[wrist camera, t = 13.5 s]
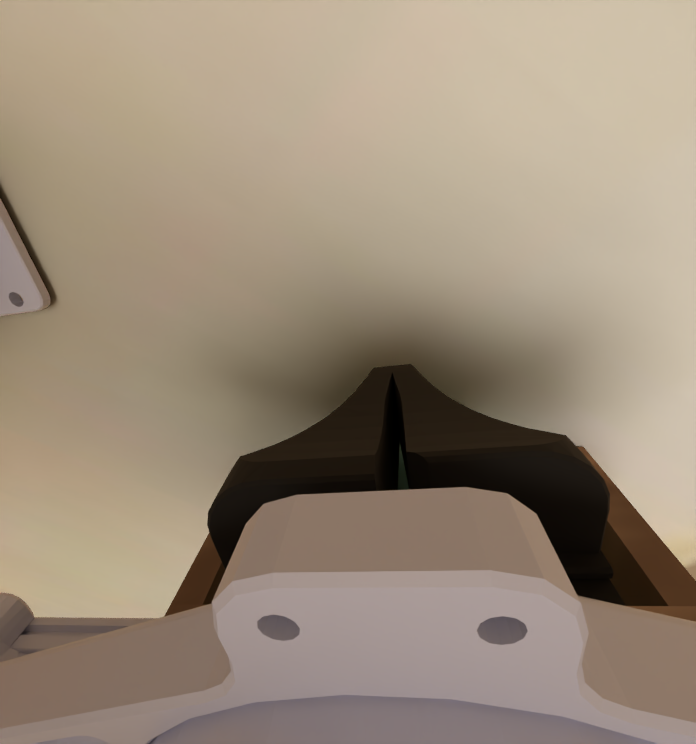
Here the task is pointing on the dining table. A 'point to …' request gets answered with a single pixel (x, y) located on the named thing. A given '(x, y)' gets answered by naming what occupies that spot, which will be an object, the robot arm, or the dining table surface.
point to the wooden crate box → (620, 547)
